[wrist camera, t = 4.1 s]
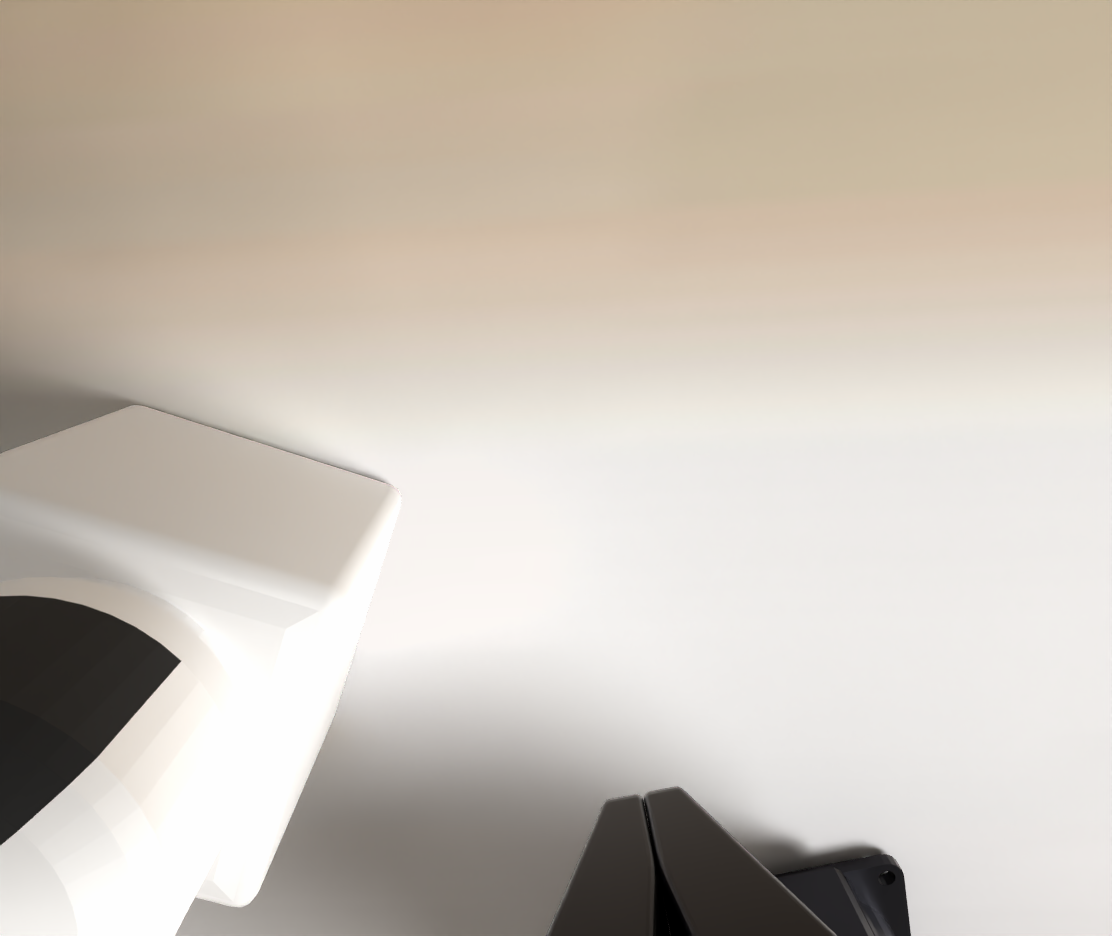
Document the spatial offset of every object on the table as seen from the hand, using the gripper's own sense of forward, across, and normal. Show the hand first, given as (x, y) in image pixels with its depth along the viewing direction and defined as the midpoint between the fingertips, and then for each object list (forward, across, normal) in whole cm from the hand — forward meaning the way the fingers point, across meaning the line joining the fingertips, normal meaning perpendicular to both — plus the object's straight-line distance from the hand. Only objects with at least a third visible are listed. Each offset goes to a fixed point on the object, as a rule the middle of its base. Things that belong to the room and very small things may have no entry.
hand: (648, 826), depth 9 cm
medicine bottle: (+13, +9, 0) cm, 16 cm away
